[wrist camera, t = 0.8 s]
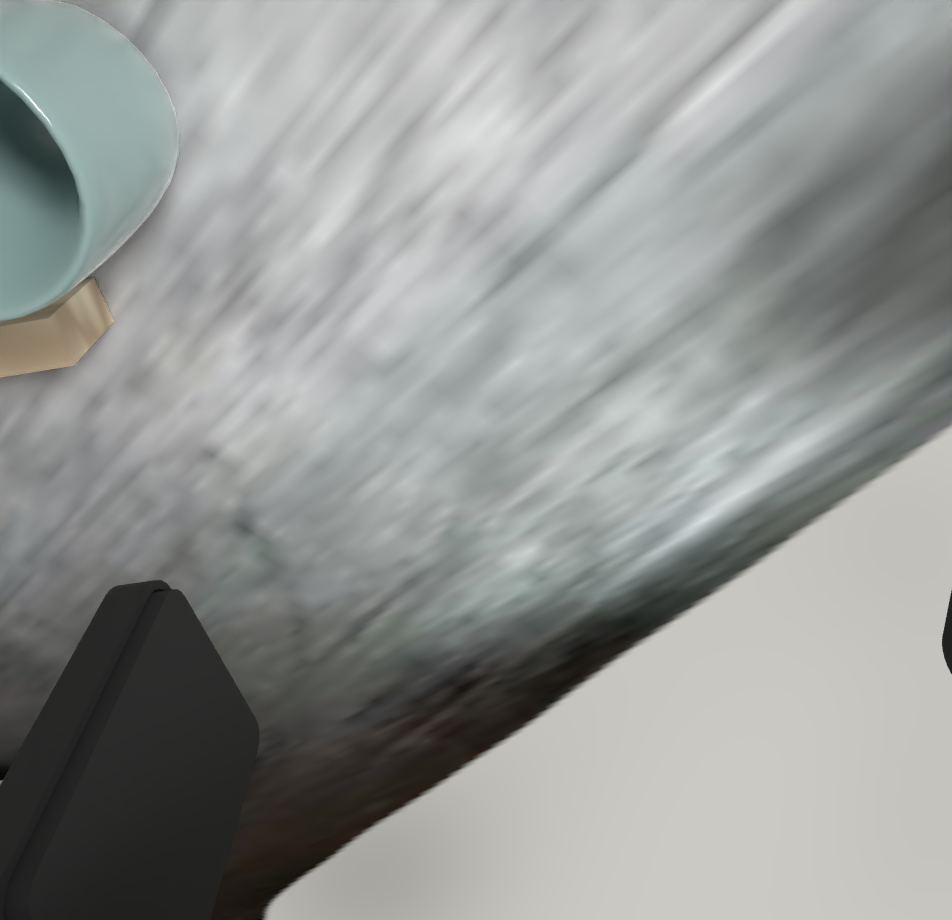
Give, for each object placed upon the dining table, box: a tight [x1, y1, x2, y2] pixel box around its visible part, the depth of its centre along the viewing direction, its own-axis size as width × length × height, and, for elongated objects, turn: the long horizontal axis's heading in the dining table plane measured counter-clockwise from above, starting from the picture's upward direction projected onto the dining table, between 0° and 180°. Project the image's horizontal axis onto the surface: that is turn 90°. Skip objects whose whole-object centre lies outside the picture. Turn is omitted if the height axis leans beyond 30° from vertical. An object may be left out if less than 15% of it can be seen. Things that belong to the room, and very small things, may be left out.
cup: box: [0, 0, 180, 321], centre depth 25 cm, size 8×8×10 cm
